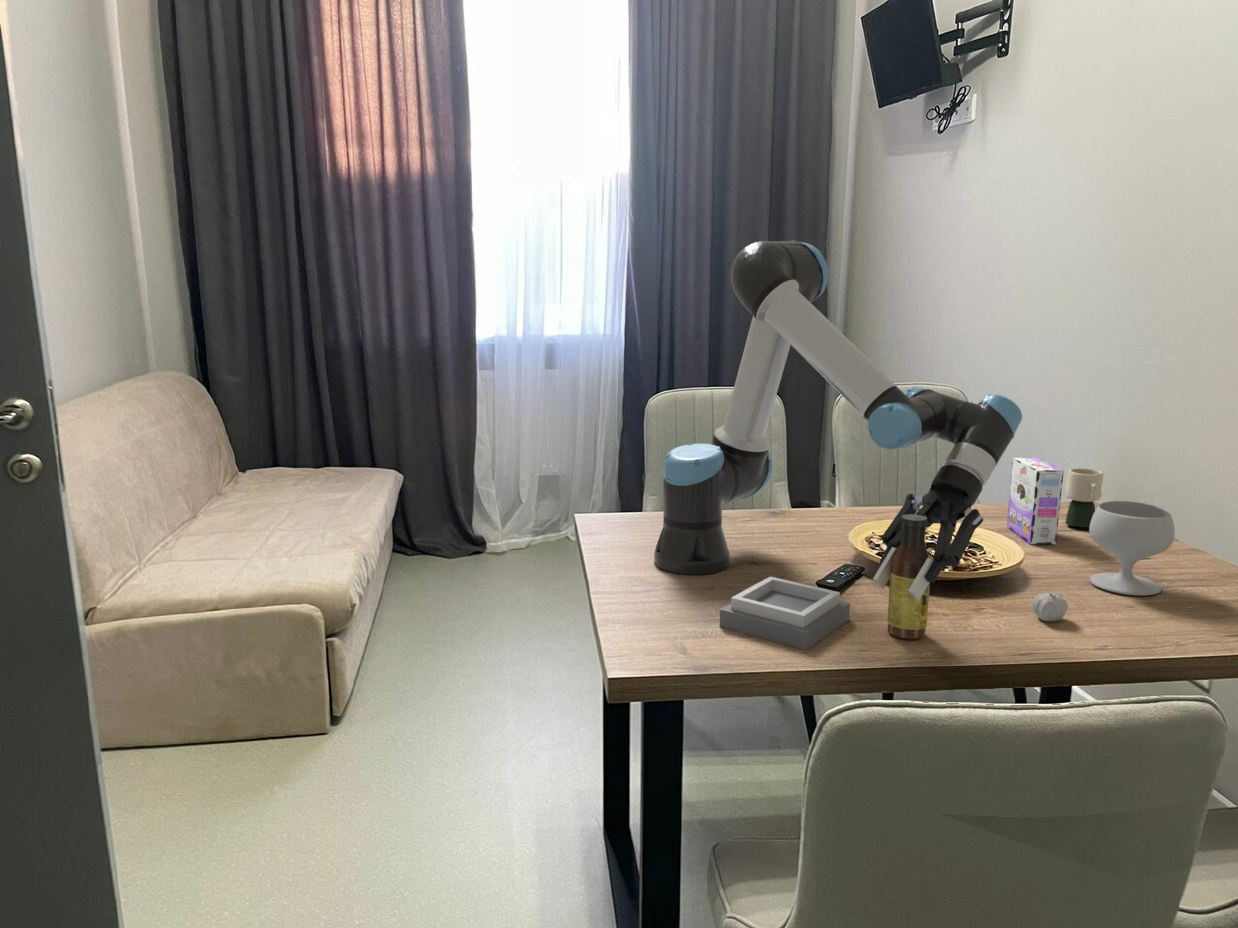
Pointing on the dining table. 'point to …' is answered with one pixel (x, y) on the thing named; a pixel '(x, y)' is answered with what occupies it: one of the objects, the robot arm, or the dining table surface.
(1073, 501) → the character mug
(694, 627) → the dining table surface
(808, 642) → the pedestal
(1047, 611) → the garlic
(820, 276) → the robot arm
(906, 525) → the sauce bottle
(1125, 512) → the chalice
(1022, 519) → the candy box
